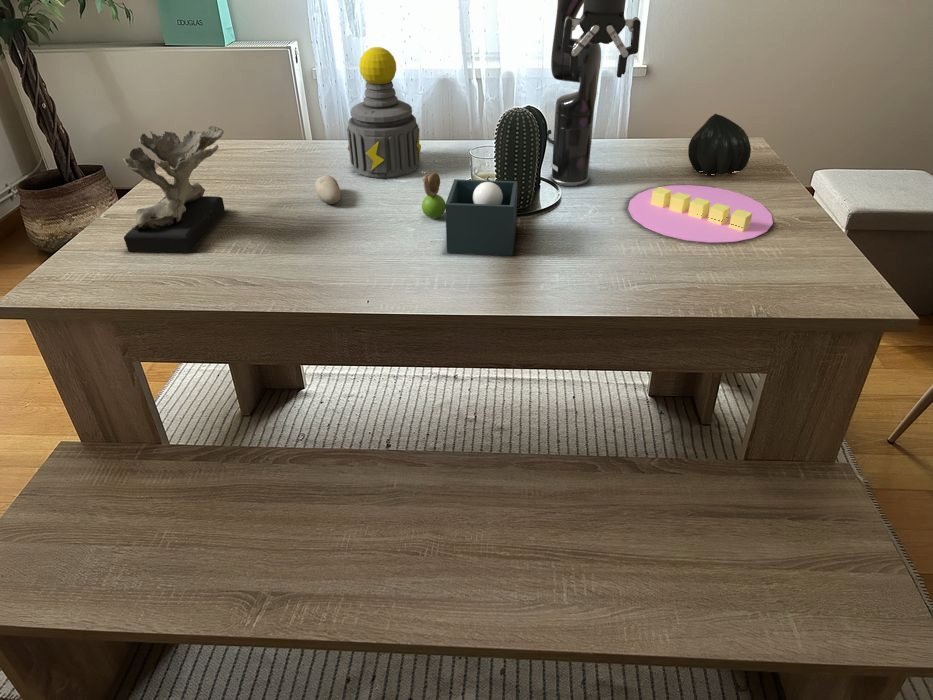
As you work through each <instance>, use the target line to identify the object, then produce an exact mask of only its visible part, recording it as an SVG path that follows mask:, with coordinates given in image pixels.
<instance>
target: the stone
mask: <svg viewBox="0 0 933 700" xmlns="http://www.w3.org/2000/svg"><path fill="white" fill-rule="evenodd" d="M314 190H315V193H316V196H317V197H318V198H319V199H320V200H321V201H322V202H324V203H326V204H331V205H332V204H336V203H338V202H339V201H340V200H341V195H342V192H341V188H340V185H339V183H338V181H337V179H335V178H334V176H332V175H328V174H326V175H322V176H320V177H319V178H317V179H316V181H315V183H314Z"/></svg>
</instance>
